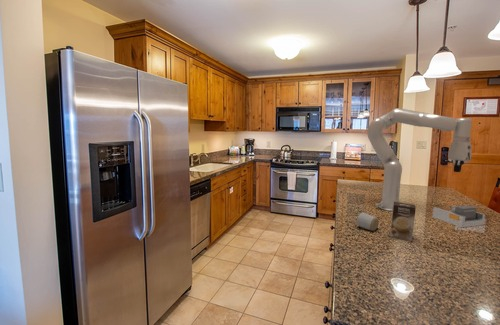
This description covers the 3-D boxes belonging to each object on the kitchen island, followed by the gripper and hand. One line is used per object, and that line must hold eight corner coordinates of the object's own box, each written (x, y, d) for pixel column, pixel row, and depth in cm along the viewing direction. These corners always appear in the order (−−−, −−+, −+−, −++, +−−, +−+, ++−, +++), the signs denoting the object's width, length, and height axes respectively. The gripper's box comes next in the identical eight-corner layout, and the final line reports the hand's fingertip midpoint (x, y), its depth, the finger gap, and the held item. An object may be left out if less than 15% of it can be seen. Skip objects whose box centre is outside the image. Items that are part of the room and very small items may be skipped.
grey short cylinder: (370, 233, 128) (372, 218, 127) (355, 227, 134) (357, 213, 133) (382, 228, 134) (383, 214, 133) (367, 223, 141) (368, 210, 140)
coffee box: (389, 237, 123) (392, 204, 121) (390, 232, 129) (393, 201, 127) (412, 241, 119) (415, 207, 117) (412, 236, 124) (415, 204, 122)
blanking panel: (461, 223, 140) (463, 208, 139) (453, 220, 144) (455, 206, 143) (474, 221, 143) (476, 207, 142) (466, 219, 146) (468, 205, 145)
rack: (461, 227, 137) (462, 216, 136) (432, 217, 152) (433, 207, 152) (483, 224, 141) (485, 214, 140) (452, 215, 157) (453, 205, 156)
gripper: (480, 140, 142) (475, 173, 144) (452, 139, 156) (448, 169, 158) (470, 140, 139) (466, 174, 142) (443, 139, 154) (439, 170, 156)
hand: (457, 171), depth 150 cm, fingers closed
